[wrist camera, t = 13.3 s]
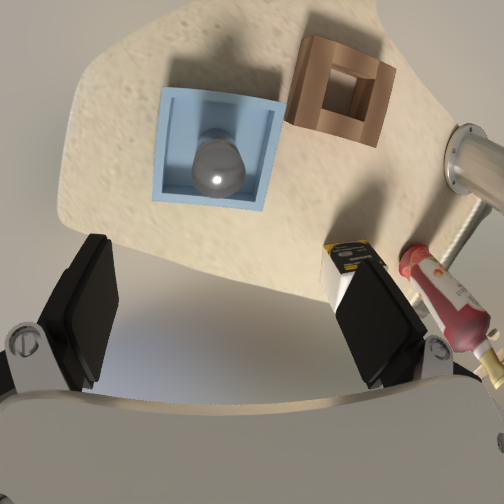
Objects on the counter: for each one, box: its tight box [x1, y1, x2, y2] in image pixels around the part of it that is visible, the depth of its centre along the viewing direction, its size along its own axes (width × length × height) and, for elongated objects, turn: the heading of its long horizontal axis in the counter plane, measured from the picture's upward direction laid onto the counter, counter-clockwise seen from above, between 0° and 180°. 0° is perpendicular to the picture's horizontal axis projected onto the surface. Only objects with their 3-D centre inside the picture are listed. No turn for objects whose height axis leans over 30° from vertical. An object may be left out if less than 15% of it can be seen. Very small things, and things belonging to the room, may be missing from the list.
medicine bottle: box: [320, 240, 388, 313], centre depth 36 cm, size 7×7×12 cm
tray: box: [152, 87, 287, 211], centre depth 27 cm, size 12×12×4 cm
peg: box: [191, 128, 246, 199], centre depth 24 cm, size 4×4×10 cm
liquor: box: [399, 244, 504, 389], centre depth 31 cm, size 7×7×28 cm
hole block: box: [284, 35, 396, 148], centre depth 25 cm, size 10×10×4 cm
